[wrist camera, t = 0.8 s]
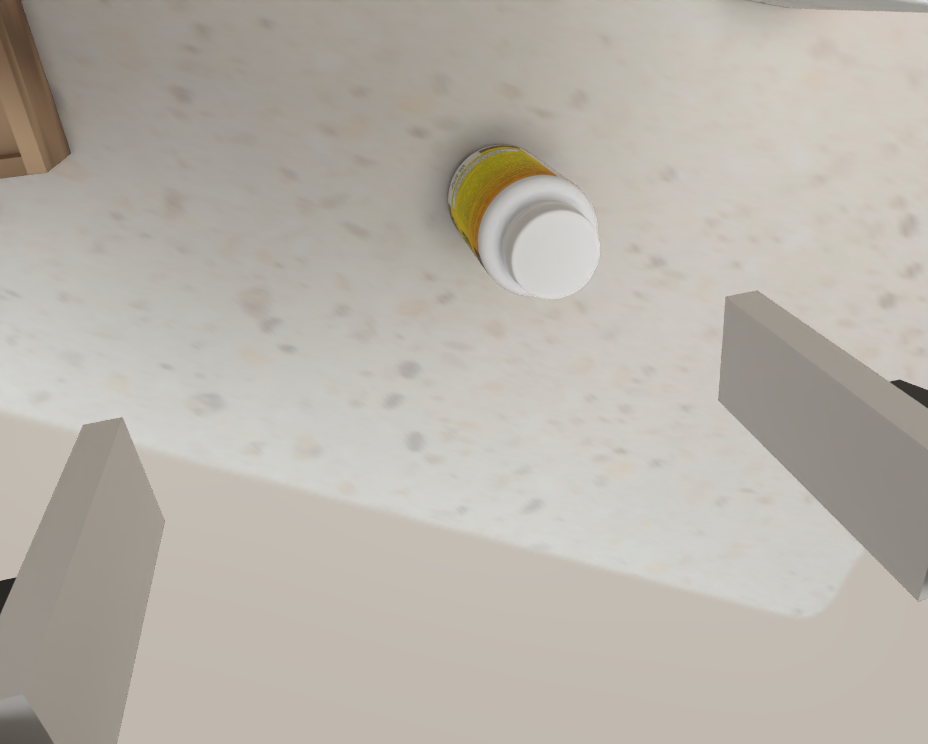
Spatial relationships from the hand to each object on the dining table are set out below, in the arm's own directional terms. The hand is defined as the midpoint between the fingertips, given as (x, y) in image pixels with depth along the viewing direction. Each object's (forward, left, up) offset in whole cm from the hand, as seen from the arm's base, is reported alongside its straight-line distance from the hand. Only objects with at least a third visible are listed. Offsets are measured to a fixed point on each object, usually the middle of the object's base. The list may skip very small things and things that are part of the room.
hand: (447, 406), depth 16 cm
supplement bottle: (+3, +7, -25) cm, 26 cm away
